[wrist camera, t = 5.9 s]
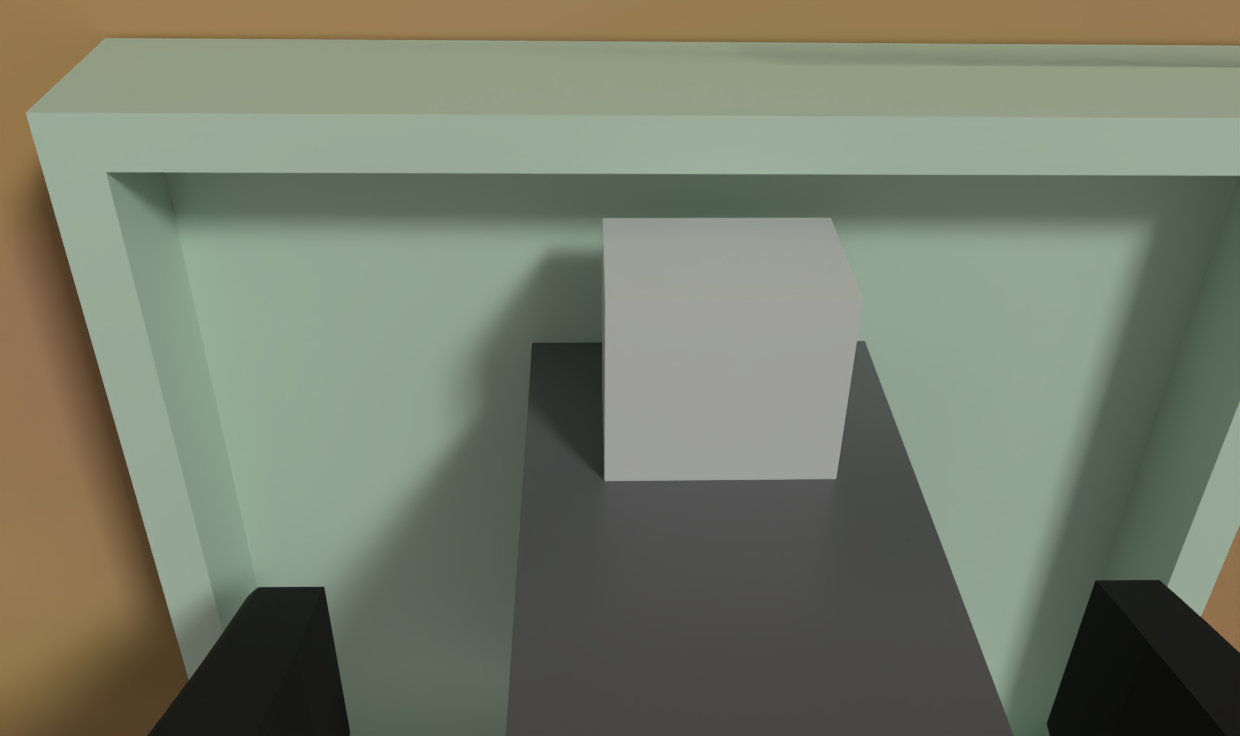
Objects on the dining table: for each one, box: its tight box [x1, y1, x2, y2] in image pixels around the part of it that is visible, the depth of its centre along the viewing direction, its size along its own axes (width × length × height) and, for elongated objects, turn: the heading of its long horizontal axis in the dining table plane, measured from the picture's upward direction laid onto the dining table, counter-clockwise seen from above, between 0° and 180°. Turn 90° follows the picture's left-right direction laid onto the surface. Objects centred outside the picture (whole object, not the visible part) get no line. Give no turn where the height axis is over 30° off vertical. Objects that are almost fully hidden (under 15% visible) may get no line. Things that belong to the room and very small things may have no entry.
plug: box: [506, 218, 1014, 736], centre depth 10 cm, size 7×3×6 cm, turn 179°
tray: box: [26, 38, 1240, 736], centre depth 13 cm, size 10×11×2 cm
